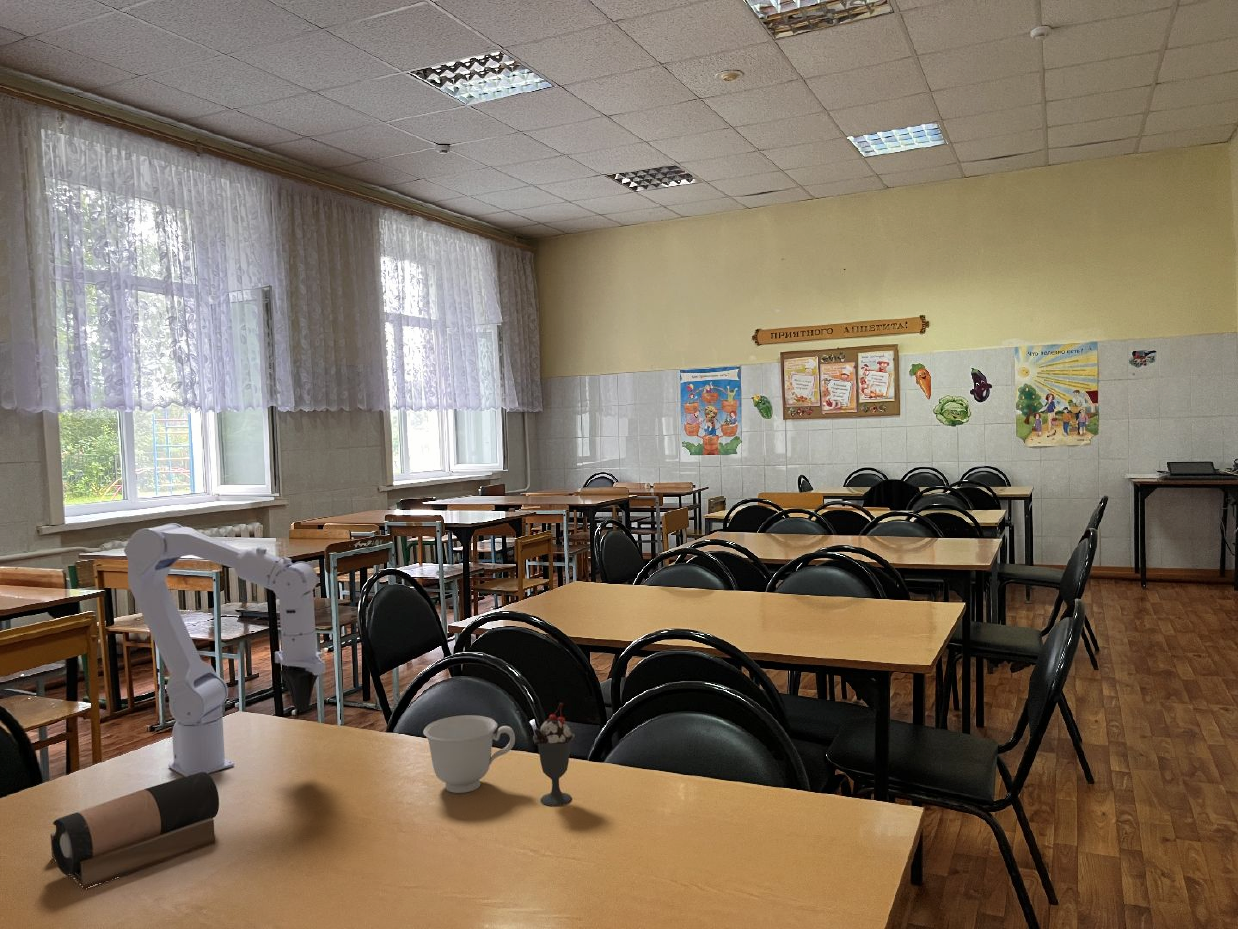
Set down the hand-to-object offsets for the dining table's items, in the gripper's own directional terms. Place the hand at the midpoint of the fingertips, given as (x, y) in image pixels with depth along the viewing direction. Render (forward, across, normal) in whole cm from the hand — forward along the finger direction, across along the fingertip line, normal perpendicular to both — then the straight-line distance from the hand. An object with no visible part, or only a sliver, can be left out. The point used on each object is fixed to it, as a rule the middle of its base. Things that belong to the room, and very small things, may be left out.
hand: (301, 708), depth 160 cm
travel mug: (+6, -11, +21) cm, 25 cm away
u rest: (+10, -11, +32) cm, 35 cm away
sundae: (+11, -46, -18) cm, 51 cm away
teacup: (+11, -31, -13) cm, 35 cm away
